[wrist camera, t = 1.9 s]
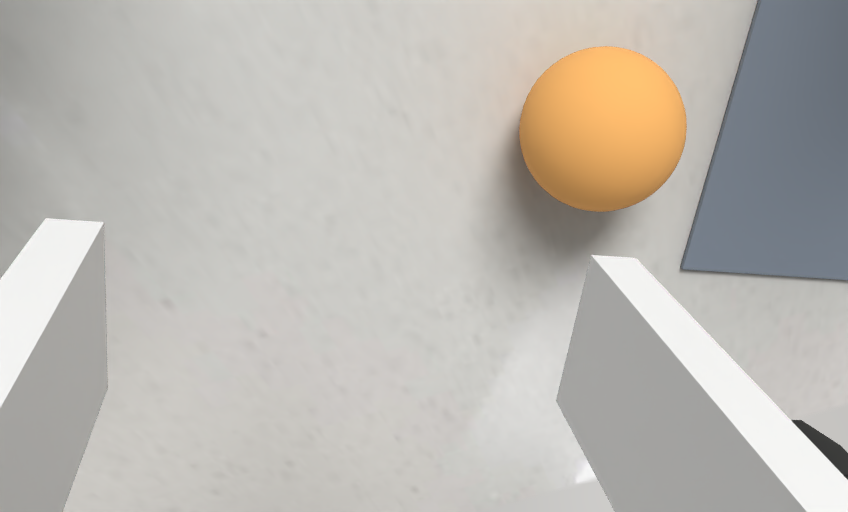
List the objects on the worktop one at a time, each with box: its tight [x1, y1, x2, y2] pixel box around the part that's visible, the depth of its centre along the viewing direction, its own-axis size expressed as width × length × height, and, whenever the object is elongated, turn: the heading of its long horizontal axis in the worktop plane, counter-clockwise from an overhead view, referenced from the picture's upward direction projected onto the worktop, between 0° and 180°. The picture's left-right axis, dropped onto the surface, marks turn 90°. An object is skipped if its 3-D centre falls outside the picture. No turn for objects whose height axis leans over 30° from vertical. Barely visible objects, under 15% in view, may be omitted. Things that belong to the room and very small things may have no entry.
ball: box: [519, 46, 687, 212], centre depth 27 cm, size 6×6×6 cm
